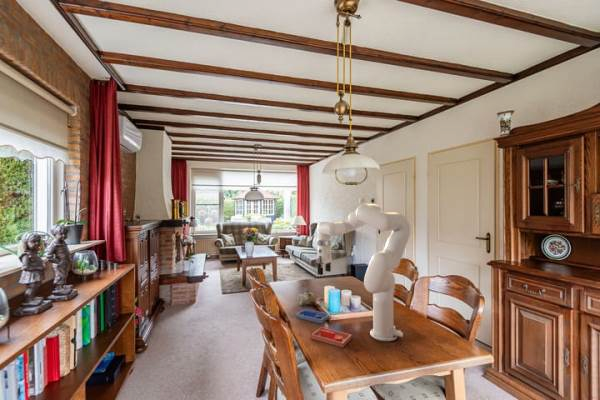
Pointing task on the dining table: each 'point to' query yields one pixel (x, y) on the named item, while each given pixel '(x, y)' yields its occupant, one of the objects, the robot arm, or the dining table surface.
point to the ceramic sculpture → (306, 298)
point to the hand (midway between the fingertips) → (324, 272)
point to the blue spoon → (312, 314)
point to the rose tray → (317, 336)
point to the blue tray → (323, 317)
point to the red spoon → (331, 335)
